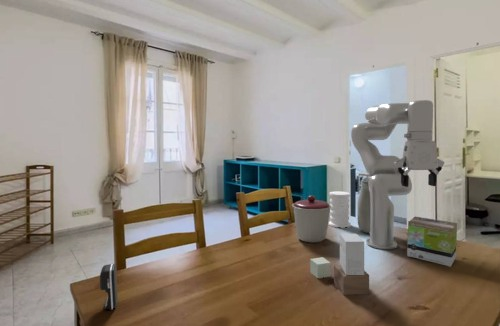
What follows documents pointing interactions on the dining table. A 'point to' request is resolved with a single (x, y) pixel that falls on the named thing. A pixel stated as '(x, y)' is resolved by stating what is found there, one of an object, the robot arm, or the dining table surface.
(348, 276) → the walnut block
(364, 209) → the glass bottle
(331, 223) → the decorative container
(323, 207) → the canister
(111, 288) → the battery charger
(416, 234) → the tea box
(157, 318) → the dining table surface
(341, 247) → the small box
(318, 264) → the sage block
